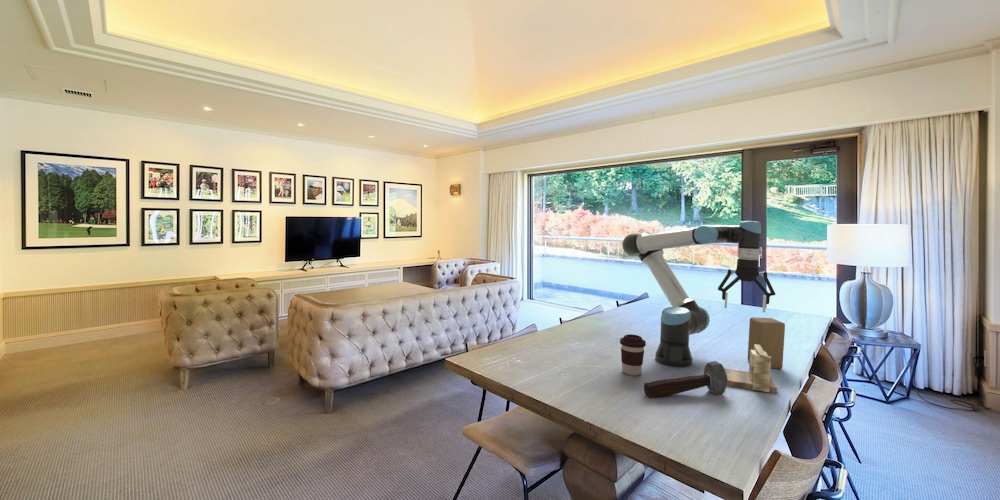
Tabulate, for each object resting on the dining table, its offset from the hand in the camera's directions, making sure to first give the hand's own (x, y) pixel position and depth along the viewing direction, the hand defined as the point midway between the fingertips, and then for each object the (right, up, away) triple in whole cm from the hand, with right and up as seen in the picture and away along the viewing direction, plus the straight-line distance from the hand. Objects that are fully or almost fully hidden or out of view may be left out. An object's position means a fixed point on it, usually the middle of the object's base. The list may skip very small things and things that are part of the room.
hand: (744, 309), depth 167 cm
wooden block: (+14, -26, +9) cm, 30 cm away
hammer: (-35, -27, -23) cm, 50 cm away
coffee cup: (-48, -26, -2) cm, 54 cm away
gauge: (-3, -26, -14) cm, 30 cm away
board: (-7, -26, -10) cm, 29 cm away
